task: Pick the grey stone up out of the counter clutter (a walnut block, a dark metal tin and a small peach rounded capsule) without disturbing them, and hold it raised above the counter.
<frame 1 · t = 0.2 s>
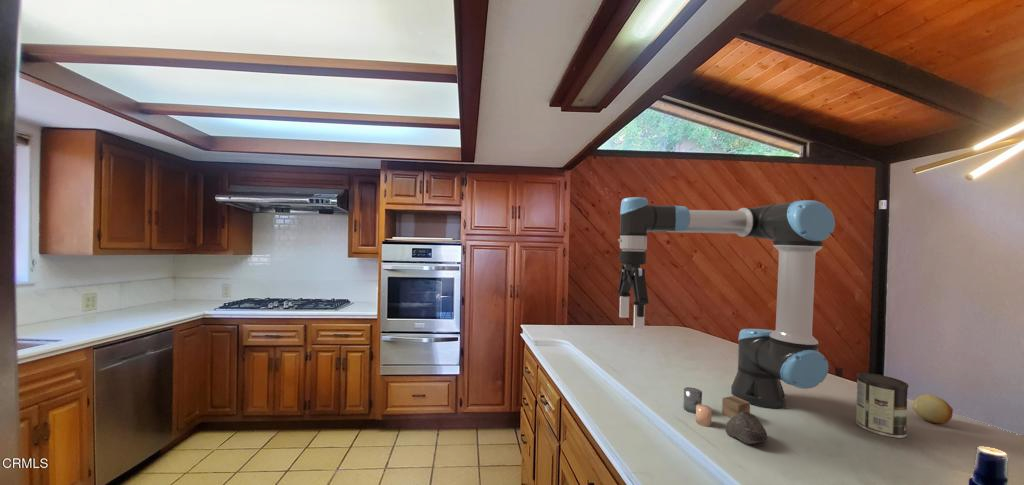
hand: (631, 322, 107), 28 cm above the counter, fingers open, 13 cm apart
stone: (748, 440, 96), on the counter
metal tin: (692, 409, 112), on the counter
walnut block: (735, 416, 108), on the counter
coffee can: (879, 429, 103), on the counter
peach rounded capsule: (703, 423, 104), on the counter
fruit: (931, 422, 108), on the counter
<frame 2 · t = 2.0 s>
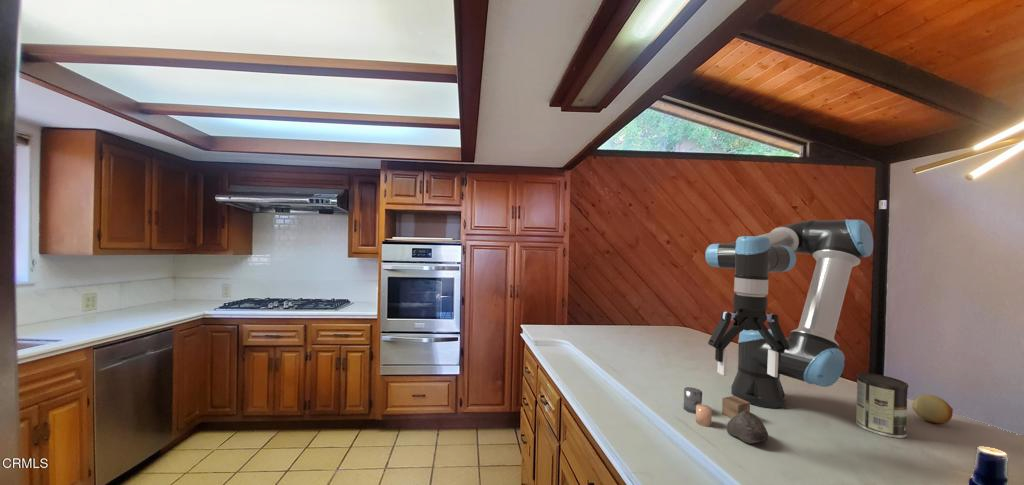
hand: (747, 374, 96), 17 cm above the counter, fingers open, 13 cm apart
nothing on the counter moved.
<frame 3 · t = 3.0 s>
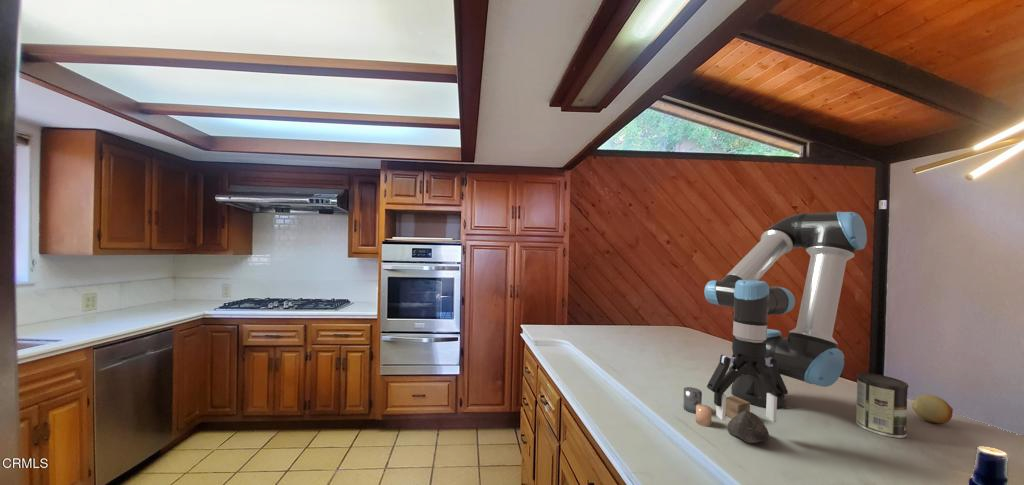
hand: (745, 418, 96), 5 cm above the counter, fingers open, 13 cm apart
nothing on the counter moved.
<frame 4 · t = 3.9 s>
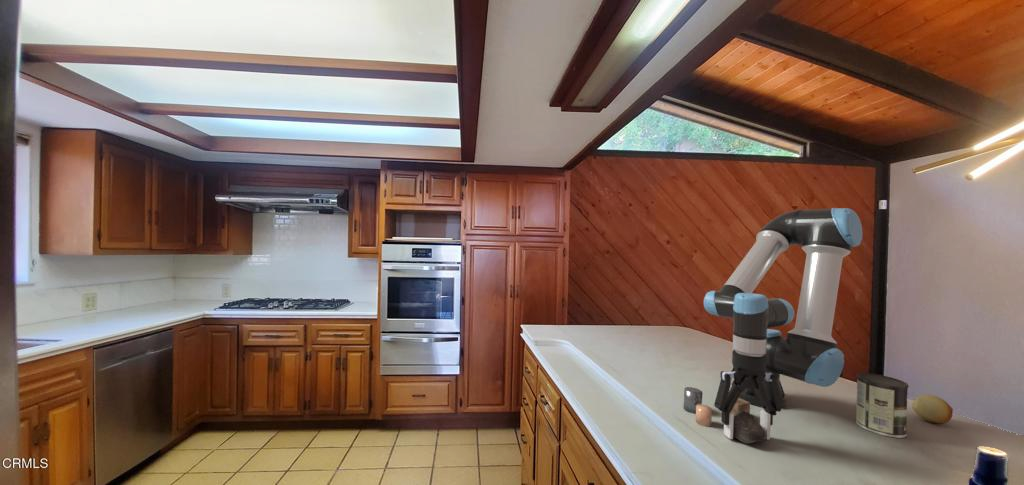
hand: (746, 436, 96), 1 cm above the counter, fingers closed on stone, 9 cm apart
stone: (746, 439, 96), on the counter, touching gripper
everything else where it was.
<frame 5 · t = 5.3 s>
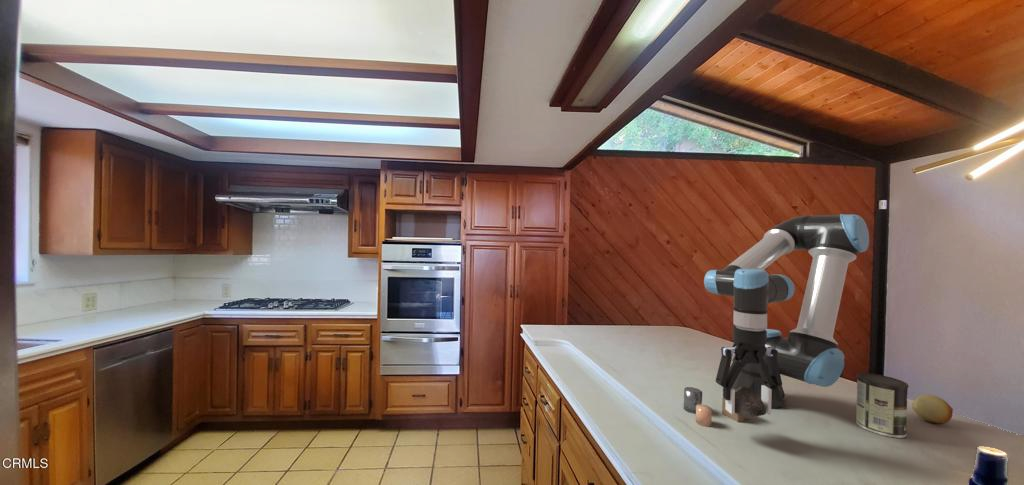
hand: (747, 411, 96), 7 cm above the counter, fingers closed on stone, 9 cm apart
stone: (748, 414, 96), point 6 cm above the counter, touching gripper
everything else where it was.
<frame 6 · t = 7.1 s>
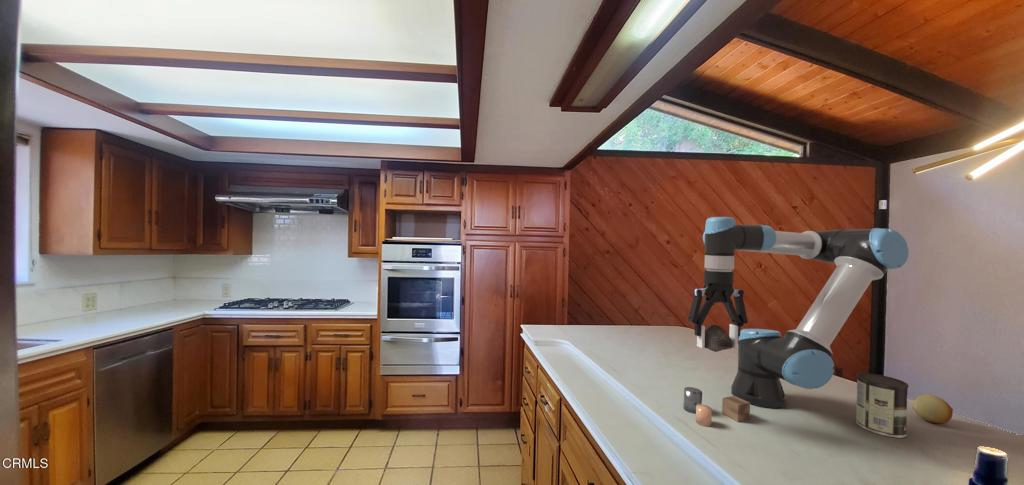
hand: (716, 347, 106), 21 cm above the counter, fingers closed on stone, 9 cm apart
stone: (717, 350, 106), point 20 cm above the counter, touching gripper
everything else where it was.
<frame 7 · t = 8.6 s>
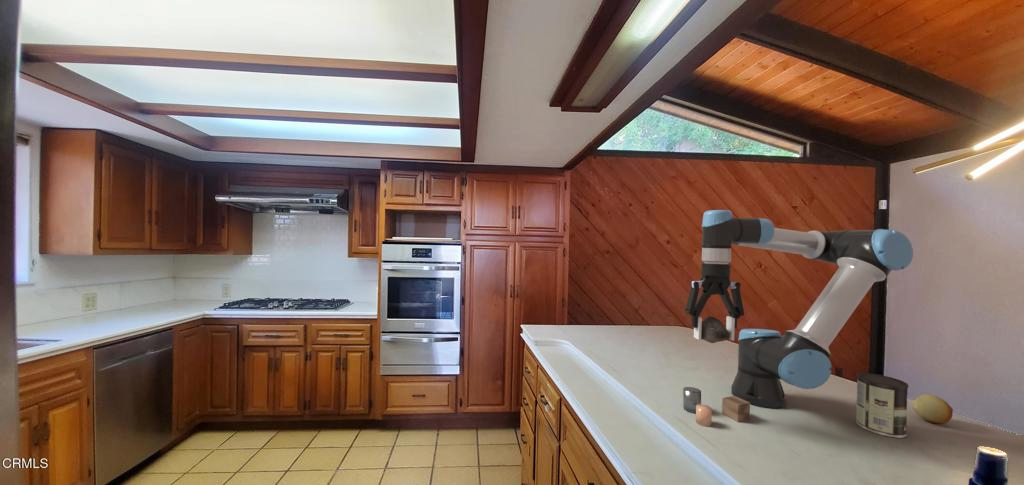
hand: (713, 338, 107), 23 cm above the counter, fingers closed on stone, 9 cm apart
stone: (713, 341, 107), point 22 cm above the counter, touching gripper
everything else where it was.
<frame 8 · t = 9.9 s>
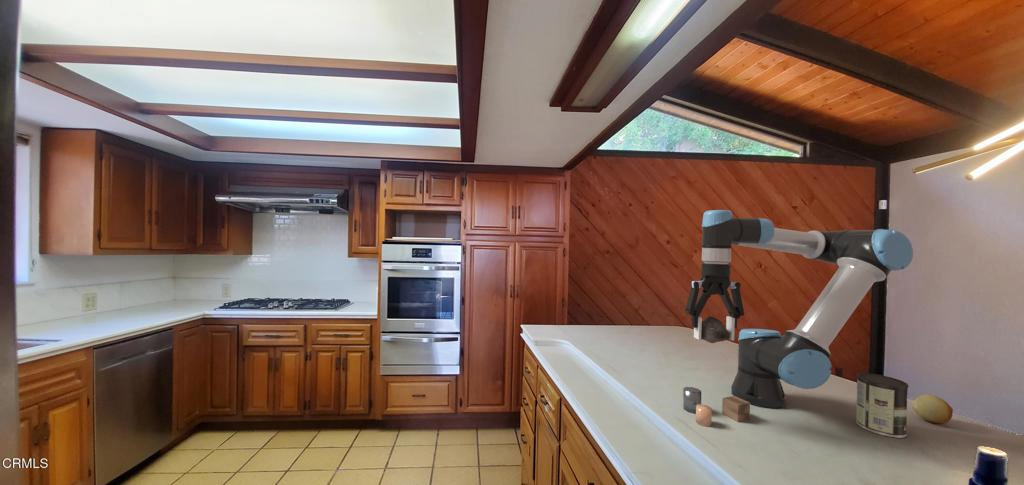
hand: (713, 338, 107), 23 cm above the counter, fingers closed on stone, 9 cm apart
stone: (713, 341, 107), point 22 cm above the counter, touching gripper
everything else where it was.
at the end: the gripper is holding stone; stone point 22.5 cm above the counter; walnut block moved 0.1 cm from its start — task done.
